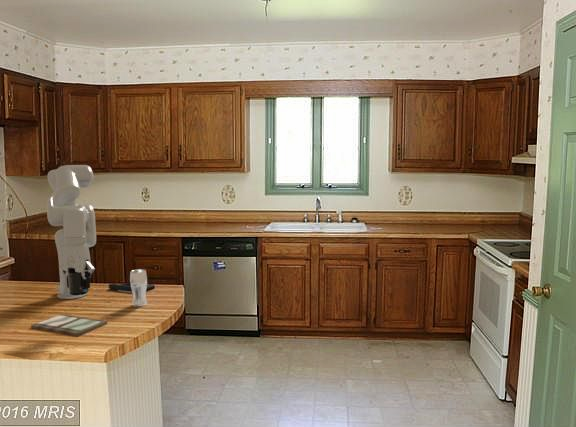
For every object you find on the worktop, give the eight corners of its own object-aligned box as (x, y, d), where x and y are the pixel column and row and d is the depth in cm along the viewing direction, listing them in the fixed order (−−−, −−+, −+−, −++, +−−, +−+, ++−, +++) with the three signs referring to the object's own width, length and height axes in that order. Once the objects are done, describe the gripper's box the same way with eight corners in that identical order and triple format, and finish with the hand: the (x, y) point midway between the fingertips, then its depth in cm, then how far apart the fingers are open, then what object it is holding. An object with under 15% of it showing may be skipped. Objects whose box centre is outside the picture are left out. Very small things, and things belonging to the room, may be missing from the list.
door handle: (129, 278, 249) (106, 284, 235) (161, 282, 241) (138, 288, 227) (129, 284, 250) (106, 291, 235) (161, 288, 241) (138, 295, 227)
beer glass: (149, 301, 215) (148, 268, 214) (145, 306, 209) (144, 272, 207) (134, 302, 215) (132, 269, 213) (129, 307, 208) (127, 273, 206)
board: (31, 327, 185) (30, 324, 185) (61, 316, 198) (60, 313, 197) (79, 336, 176) (78, 332, 175) (107, 323, 188) (106, 320, 188)
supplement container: (78, 296, 178) (77, 268, 177) (65, 294, 181) (63, 267, 179) (92, 291, 184) (91, 264, 183) (79, 290, 187) (77, 263, 186)
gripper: (49, 241, 180) (53, 288, 182) (85, 244, 173) (88, 292, 176) (66, 238, 187) (69, 283, 189) (101, 240, 180) (104, 287, 182)
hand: (78, 287), depth 182 cm, fingers closed on supplement container, 6 cm apart
